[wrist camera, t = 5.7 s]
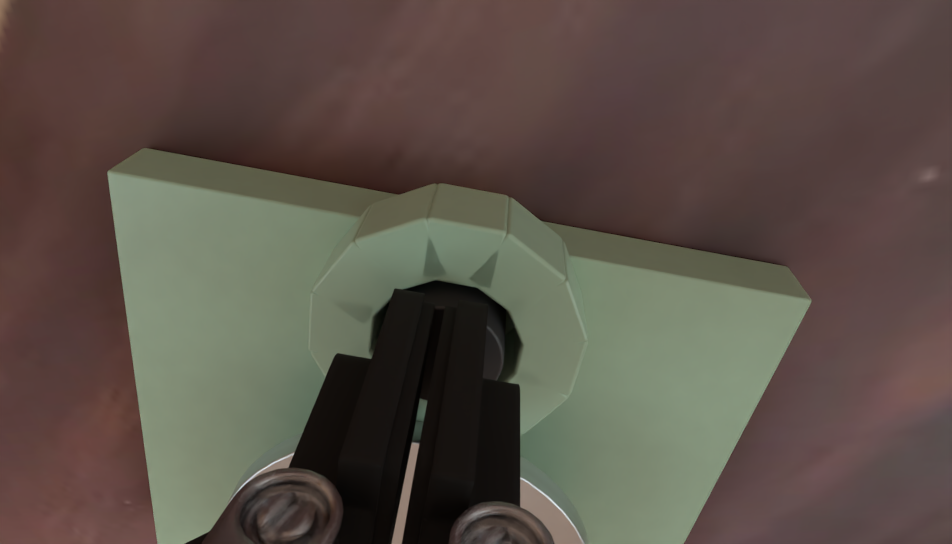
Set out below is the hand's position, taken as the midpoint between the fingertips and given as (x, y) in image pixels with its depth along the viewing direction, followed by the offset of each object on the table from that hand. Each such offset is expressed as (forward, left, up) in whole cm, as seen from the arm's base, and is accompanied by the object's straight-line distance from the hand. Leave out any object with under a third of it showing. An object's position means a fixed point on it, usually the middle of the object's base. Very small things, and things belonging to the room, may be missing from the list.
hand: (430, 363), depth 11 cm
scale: (+4, 0, -3) cm, 6 cm away
